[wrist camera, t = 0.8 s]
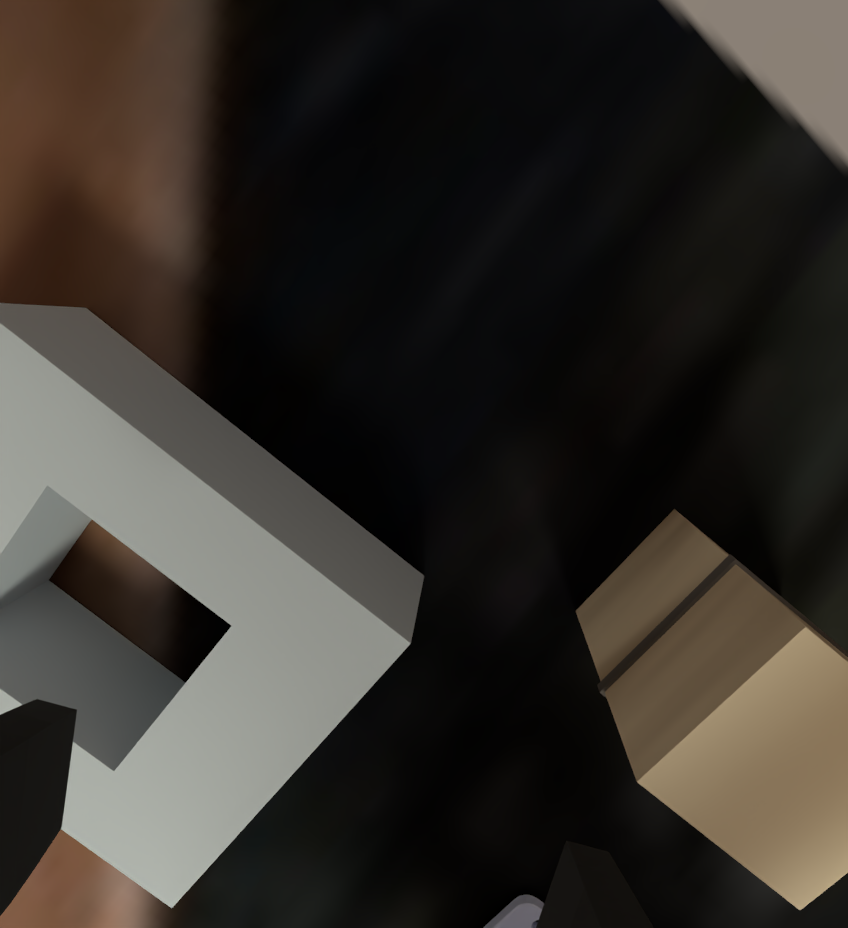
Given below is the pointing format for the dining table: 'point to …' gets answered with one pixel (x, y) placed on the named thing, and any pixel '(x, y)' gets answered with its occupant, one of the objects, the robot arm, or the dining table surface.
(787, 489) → the dining table surface
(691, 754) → the peg
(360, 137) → the dining table surface
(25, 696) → the socket block
